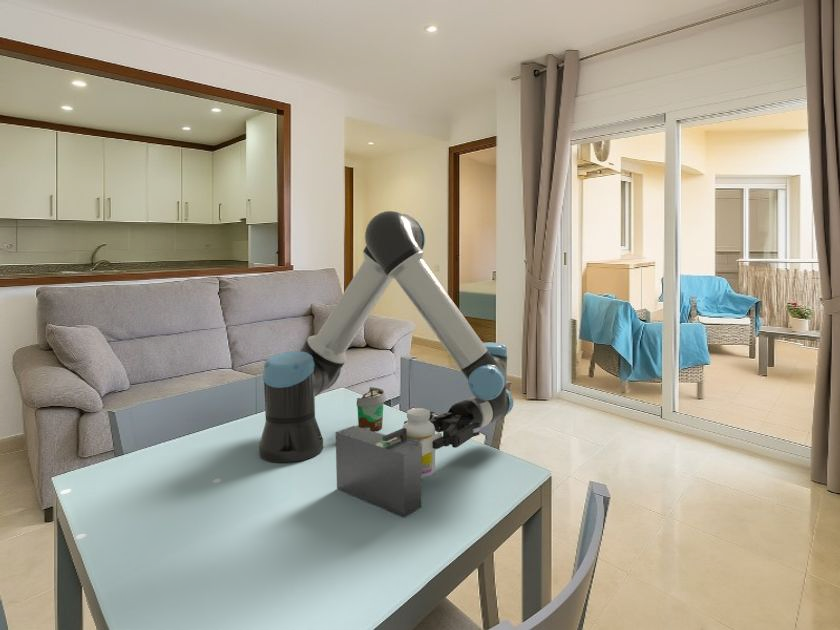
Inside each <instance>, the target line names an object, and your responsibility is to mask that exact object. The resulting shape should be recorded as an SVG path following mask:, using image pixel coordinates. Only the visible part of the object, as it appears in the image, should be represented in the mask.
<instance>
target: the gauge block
mask: <svg viewBox="0 0 840 630" xmlns="http://www.w3.org/2000/svg"><path fill="white" fill-rule="evenodd" d="M380 433H381V432H380ZM380 433H376V432H373V431H370V430H366V429H363V428H360V427H358V426H356V425H352V426H349V427H346V428H343V429H341V430H338V431H336V432H335V461H336V465H335V466H336V468H335V469H336V490H338V491H340V492H343V493H345V494H347V495H350V496H352V497H355V498H357V499H359V500H361V501H363V502H367V503H369V504H371V505H373V506H376V507H378V508H380V509H383V510H385V511H386V512H390V513H392V514H394V515H397V516H399V517H402V518H406V517H407V516H410V515H411V514H412V513H414V512H416V511H417V510H419V509H420V508H422V477H421V446H420V445H416V444H413V443H410V442H406V441H403V440H401V439H400V438H396V437H395V438H393V439H391V440H388V441H383V436H385V435H383V434H384V433H383V434H380Z"/></svg>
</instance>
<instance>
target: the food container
mask: <svg viewBox="0 0 840 630" xmlns="http://www.w3.org/2000/svg"><path fill="white" fill-rule="evenodd" d="M386 400H387V397H386V393H385V391H384V389H382V388H379V387H373V386H369V390H368V392H366V393H364V394H363V395H362V397H356V407H357V423H358V426H357V427H360V428H363V429H366V430H370V431H373V432H375V431H376V432H379V431H381V430H382V429H383V418H384V404H385V402H386Z"/></svg>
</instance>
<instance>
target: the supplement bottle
mask: <svg viewBox="0 0 840 630" xmlns="http://www.w3.org/2000/svg"><path fill="white" fill-rule="evenodd" d="M430 412H431V411H430V410H429V409H427V408H421V407H417V408H411V409H408V410H407V411H406V419H407V421H408V422H406V423H405V424H404V423H403V425H402V428H406V429H407V441H410V442H413V444H416V445H419V442H420V441H422V440H424V439H427V438H429V437H431V436H433V435H435V434H436V431H435V427H434V425H433V424H432V423H431V422H430V421H429V418H430ZM435 471H436V450H434V451H432V452H430V453H428V454H426V455H424V456H421V478H426V477H427V478H428V477H429V476H431V475H433V474H434V473H435Z"/></svg>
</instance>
